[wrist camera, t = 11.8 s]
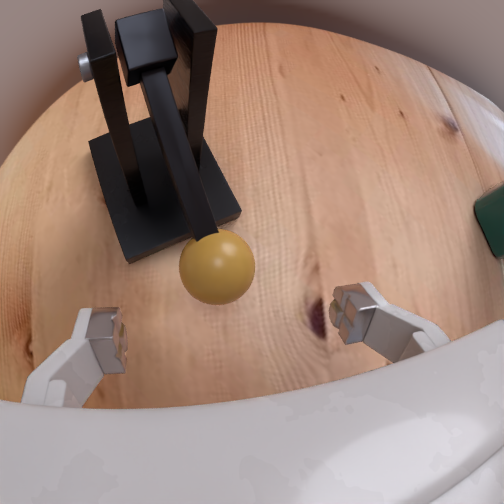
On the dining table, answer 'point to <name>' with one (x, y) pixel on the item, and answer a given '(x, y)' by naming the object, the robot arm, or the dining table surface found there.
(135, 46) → the lever
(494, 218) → the pitcher
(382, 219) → the dining table surface
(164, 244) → the stand
